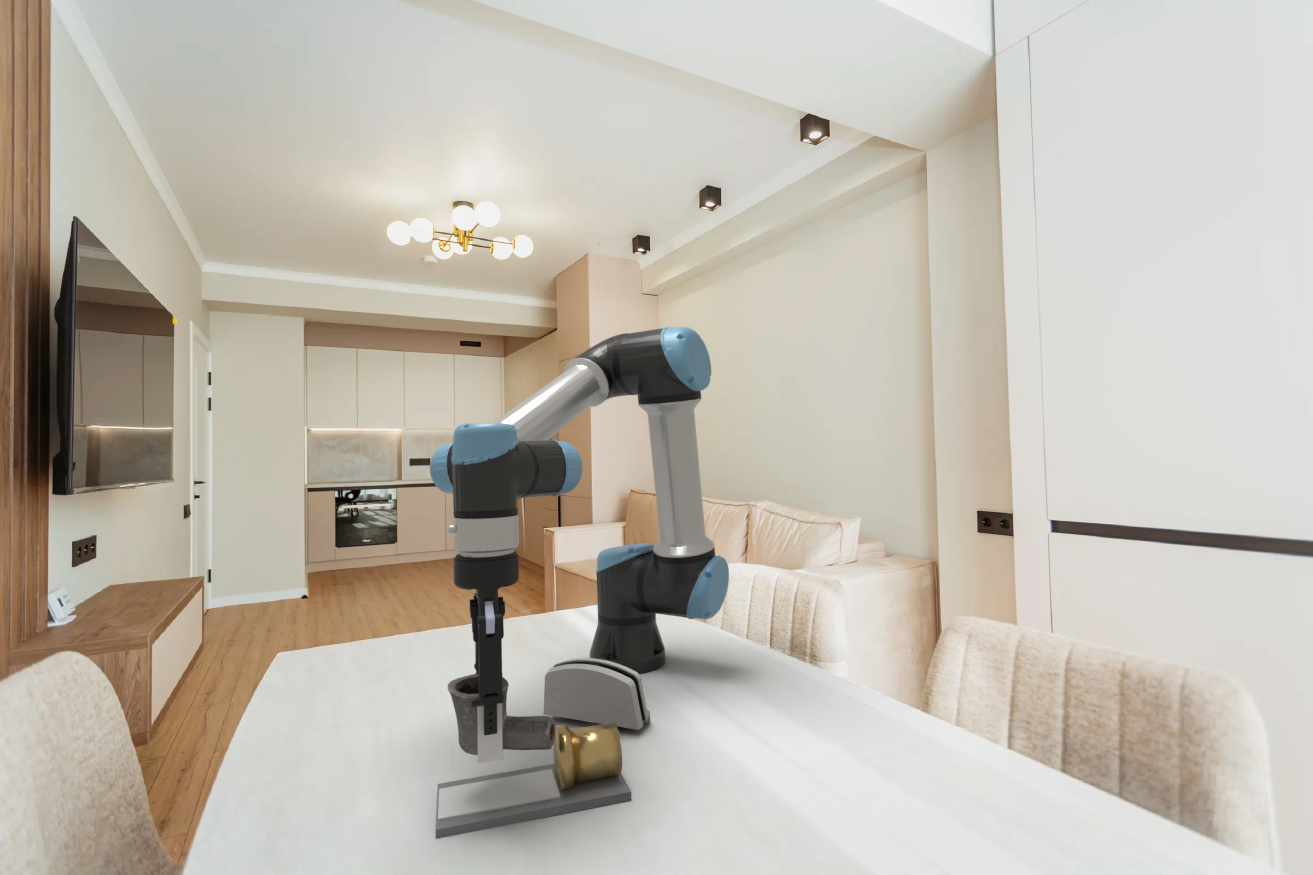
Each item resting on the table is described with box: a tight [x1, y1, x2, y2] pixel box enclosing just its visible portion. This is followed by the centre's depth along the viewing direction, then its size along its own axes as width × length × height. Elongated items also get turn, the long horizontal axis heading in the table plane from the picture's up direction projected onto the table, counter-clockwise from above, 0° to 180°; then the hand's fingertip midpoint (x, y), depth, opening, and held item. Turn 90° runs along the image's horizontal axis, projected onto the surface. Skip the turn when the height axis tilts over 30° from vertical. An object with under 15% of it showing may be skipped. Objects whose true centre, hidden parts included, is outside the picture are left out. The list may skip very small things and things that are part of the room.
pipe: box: [447, 673, 556, 756], centre depth 74 cm, size 6×13×8 cm, turn 84°
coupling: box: [552, 723, 623, 791], centre depth 78 cm, size 7×7×7 cm
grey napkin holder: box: [543, 657, 652, 731], centre depth 96 cm, size 17×5×10 cm, turn 68°
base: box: [435, 763, 632, 839], centre depth 76 cm, size 22×10×1 cm, turn 108°
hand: (488, 746), depth 75 cm, fingers closed on pipe, 6 cm apart
